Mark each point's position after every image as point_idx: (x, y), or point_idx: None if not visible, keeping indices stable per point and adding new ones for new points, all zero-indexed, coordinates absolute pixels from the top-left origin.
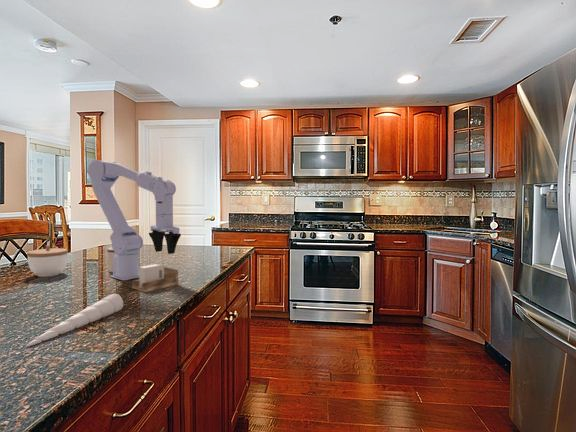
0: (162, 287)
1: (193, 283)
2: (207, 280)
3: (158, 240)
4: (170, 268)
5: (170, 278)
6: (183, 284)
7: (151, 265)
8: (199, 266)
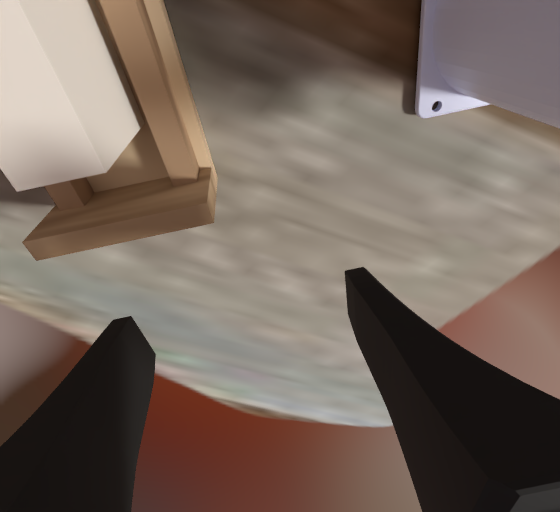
0: None
1: (67, 272)
2: None
3: (399, 400)
4: (121, 237)
5: None
6: None
7: (18, 69)
8: None
